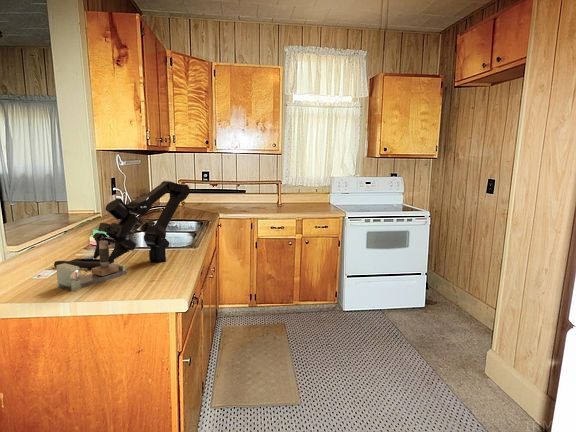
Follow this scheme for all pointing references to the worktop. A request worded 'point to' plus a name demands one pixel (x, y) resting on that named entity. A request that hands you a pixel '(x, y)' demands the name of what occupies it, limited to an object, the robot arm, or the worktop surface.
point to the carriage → (104, 261)
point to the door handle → (83, 262)
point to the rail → (73, 281)
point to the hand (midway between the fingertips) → (101, 259)
